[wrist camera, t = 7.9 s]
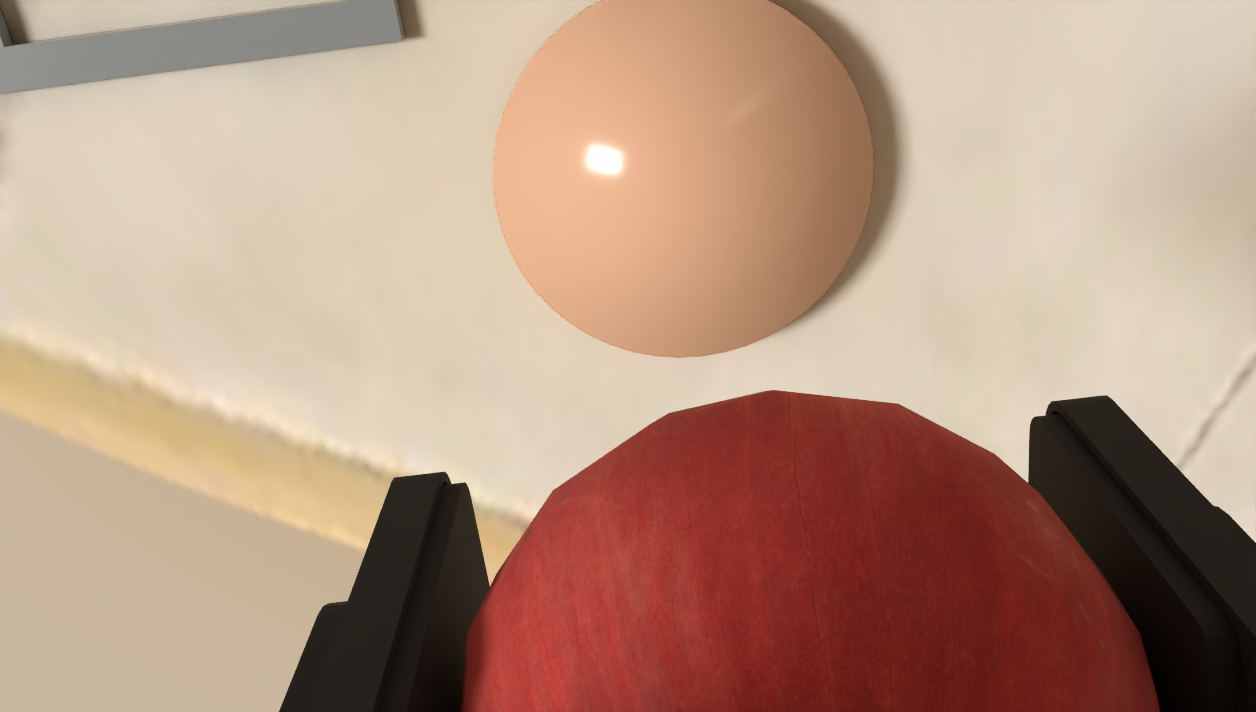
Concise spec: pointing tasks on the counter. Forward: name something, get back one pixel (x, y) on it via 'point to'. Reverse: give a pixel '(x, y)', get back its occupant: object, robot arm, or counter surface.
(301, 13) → the frame
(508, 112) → the disc
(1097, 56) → the counter surface
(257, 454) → the counter surface
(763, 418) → the onion
